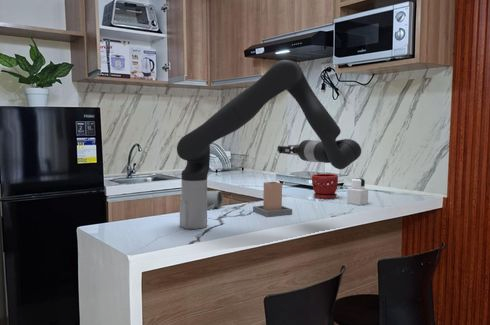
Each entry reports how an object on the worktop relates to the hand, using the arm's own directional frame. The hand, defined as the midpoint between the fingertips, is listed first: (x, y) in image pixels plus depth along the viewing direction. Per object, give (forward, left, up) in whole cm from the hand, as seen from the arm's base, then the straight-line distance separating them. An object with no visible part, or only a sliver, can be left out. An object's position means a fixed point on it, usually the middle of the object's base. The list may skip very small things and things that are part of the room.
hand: (287, 148), depth 164 cm
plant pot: (+46, +35, -28) cm, 64 cm away
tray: (+2, +14, -28) cm, 31 cm away
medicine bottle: (+50, +15, -28) cm, 59 cm away
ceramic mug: (-17, +35, -28) cm, 48 cm away
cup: (+2, +14, -27) cm, 31 cm away
